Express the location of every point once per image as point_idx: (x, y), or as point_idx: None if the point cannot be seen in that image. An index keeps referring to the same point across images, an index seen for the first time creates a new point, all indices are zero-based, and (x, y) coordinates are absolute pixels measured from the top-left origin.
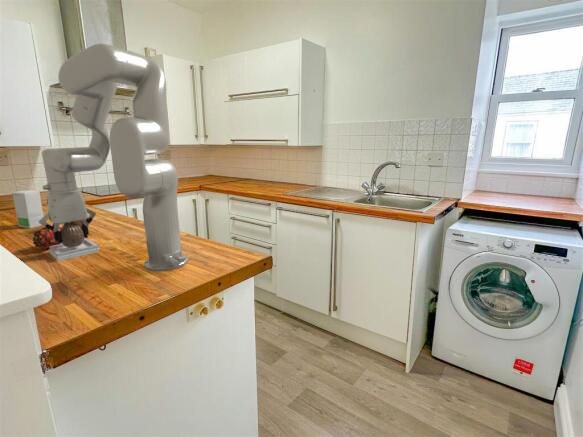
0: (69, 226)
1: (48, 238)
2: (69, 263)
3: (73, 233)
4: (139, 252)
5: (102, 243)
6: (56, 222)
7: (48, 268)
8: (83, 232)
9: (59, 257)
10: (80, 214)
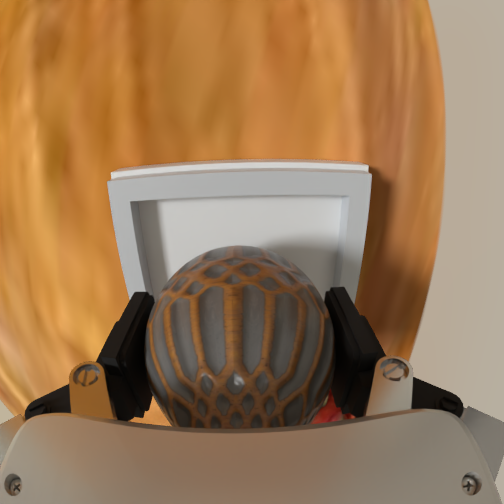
0: (261, 389)
1: (333, 416)
2: (321, 66)
3: (240, 291)
4: (6, 30)
5: (98, 316)
6: (440, 416)
7: (415, 84)
8: (146, 328)
9: (356, 164)
10: (63, 490)
